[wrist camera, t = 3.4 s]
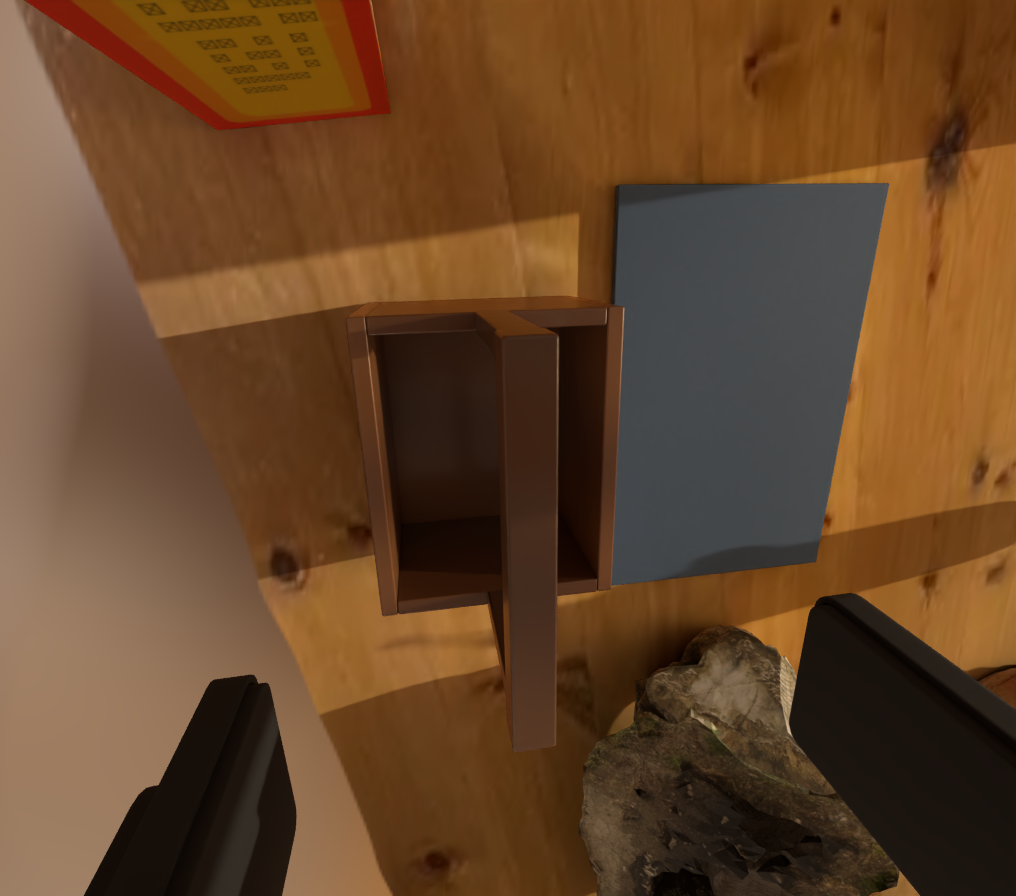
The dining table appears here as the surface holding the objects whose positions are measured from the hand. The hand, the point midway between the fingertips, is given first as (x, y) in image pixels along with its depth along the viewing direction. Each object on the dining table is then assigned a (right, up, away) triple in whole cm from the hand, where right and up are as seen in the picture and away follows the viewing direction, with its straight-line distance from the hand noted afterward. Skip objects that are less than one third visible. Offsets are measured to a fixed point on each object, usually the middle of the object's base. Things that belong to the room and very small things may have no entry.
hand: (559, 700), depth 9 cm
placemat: (+10, +7, +18) cm, 22 cm away
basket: (-2, +6, +16) cm, 17 cm away
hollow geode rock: (+10, -18, +27) cm, 33 cm away
